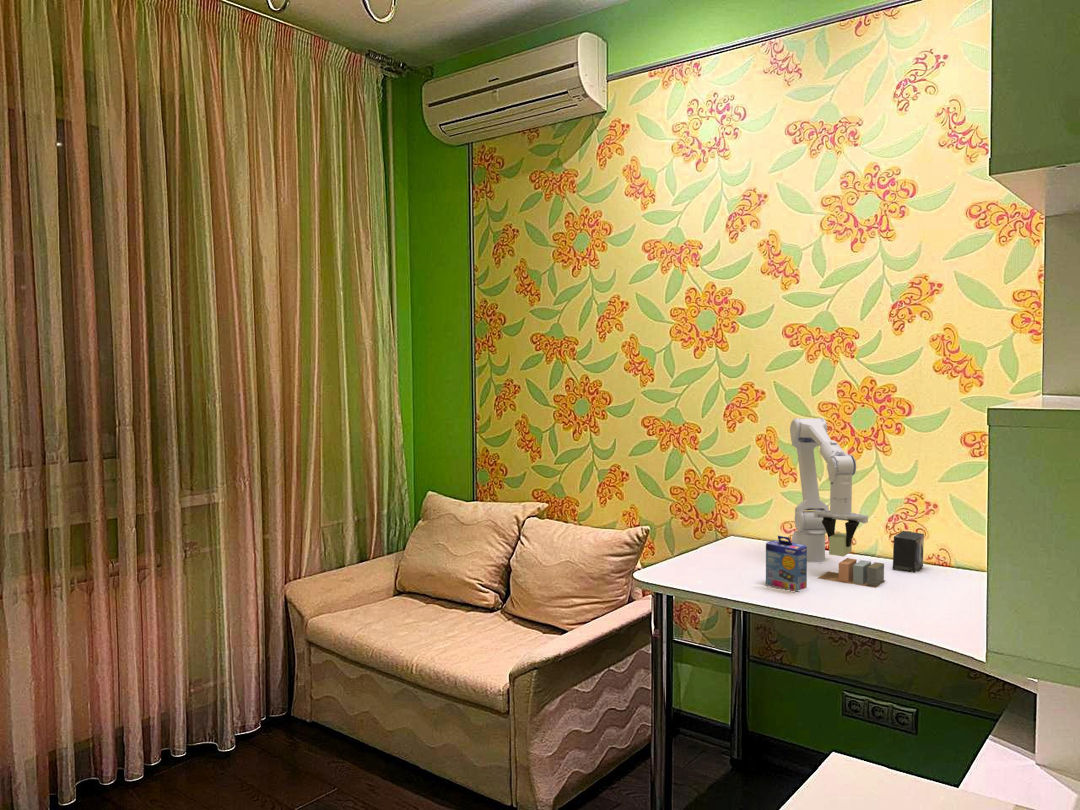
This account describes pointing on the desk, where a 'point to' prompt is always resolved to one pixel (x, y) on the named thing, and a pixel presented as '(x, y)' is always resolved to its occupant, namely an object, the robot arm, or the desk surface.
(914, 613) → the desk surface
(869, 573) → the steel bookend
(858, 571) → the grey-blue block
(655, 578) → the desk surface
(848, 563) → the terracotta book
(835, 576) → the walnut board
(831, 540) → the sage book
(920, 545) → the small box
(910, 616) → the desk surface
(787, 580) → the ink cartridge box
